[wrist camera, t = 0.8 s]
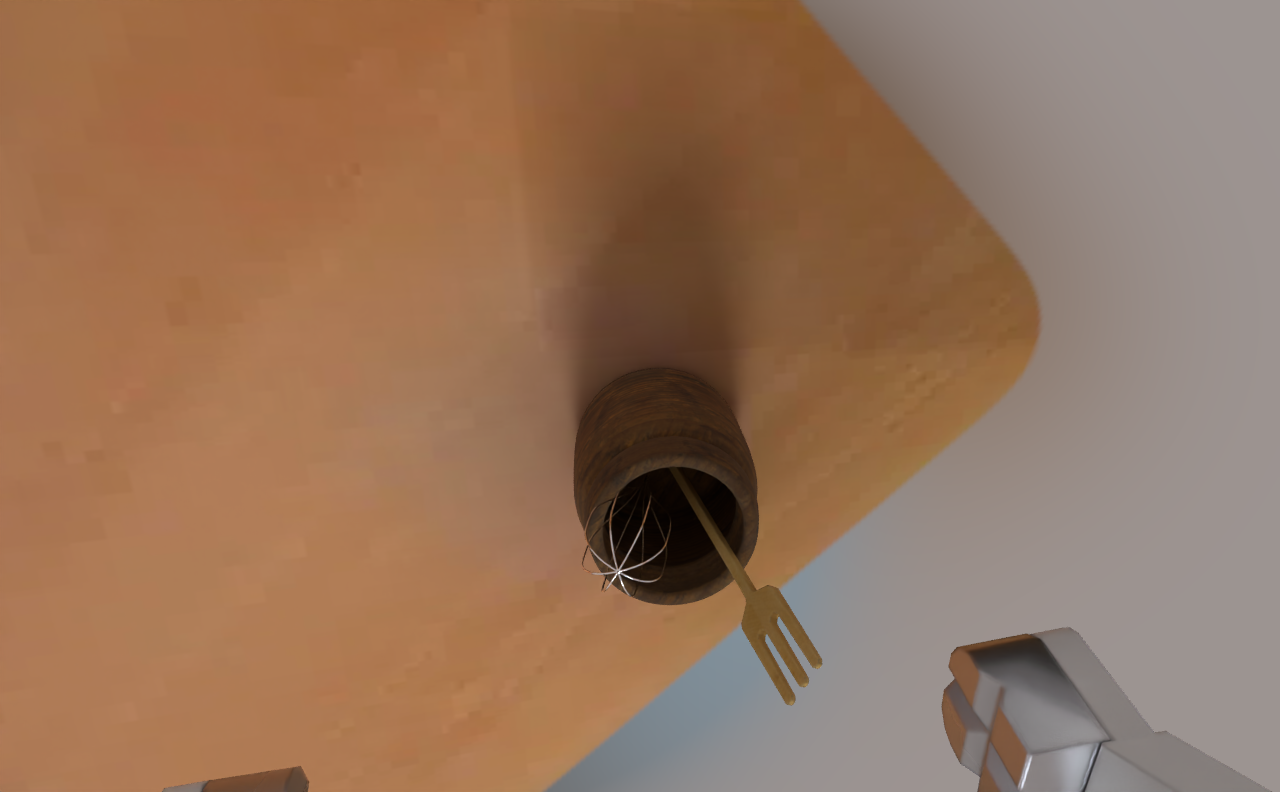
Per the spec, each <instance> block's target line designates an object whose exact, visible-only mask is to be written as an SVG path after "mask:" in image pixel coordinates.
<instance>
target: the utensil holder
mask: <svg viewBox="0 0 1280 792" xmlns="http://www.w3.org/2000/svg"><path fill="white" fill-rule="evenodd" d="M574 497H575V504H576V509H577V513H578V517H579V520H580V522H581V524H582V527H583V529H584V531H585V540H586V542H587V546H586V549H585V551H584V555H583V558H582V562H581V566H582V568H583V570H585V571H586V572H588V573H591V574H596V575H604V576H605V578H604V582H603V585H602V589H601V591H602V592H605V591H606V590H607V589H608V587H609V586H610V585H611V583H612V584H613V585H614V586H615V587H616V588H618V589H619V590H621V591H622V592H624V593H625V594H627V595H629V596H630V597H633V598H636V599H638V600H641V601H644V602H648V603H653V604H660V605H680V604H687V603H691V602H695V601H699V600H702V599H704V598H707V597H709V596H711V595H713V594H715V593H717V592H719V591H720V590H722V589H723V588H725V587H726V586H727V585H729V584H730V583H731V582H732V581H733V580H734V579H735V581H736V583H737V584H738V586H739V588H740V589H741V591H742V593H743V595H744V596H745V598H746V607H745V611H744V615H743V619H742V623H741V624H742V629H743V631H744V633H745V635H746V636H747V638H748V640H749V642H750V643H751V645H752V647H753V648H754V650H755V652H756V654H757V655H758V657H759V659H760V660H761V662H762V664H763V666H764V667H765V669H766V671H767V672H768V674H769V676H770V677H771V679H772V681H773V682H774V684H775V686H776V688H777V689H778V691H779V693H780V694H781V696H782V698H783V699H784V701H785V703H786V704H787V705H793V704H794V702H795V695H794V693H793V691H792V689H791V688H790V686H789V684H788V682H787V680H786V678H785V677H784V675H783V673H782V671H781V669H780V668H779V666H778V664H777V662H776V660H775V658H774V657H773V655H772V653H771V651H770V649H769V648H768V646H767V644H766V642H765V636H766V634H768V636H769V638H770V639H771V641H772V643H773V644H774V646H775V647H776V649H777V651H778V652H779V654H780V655H781V657H782V659H783V660H784V662H785V664H786V665H787V667H788V668H789V670H790V672H791V673H792V675H793V677H794V678H795V680H796V681H797V683H798V684H799V686H800V687H806V686H807V685H808V683H809V678H808V676H807V674H806V673H805V671H804V669H803V668H802V666H801V664H800V662H799V661H798V659H797V657H796V656H795V654H794V652H793V651H792V649H791V647H790V646H789V644H788V642H787V640H786V638H785V637H784V635H783V633H782V632H781V630H780V628H779V626H778V625H777V619H778V617H780V618H781V620H782V621H783V623H784V624H785V626H786V627H787V629H788V630H789V632H790V633H791V635H792V636H793V638H794V640H795V641H796V643H797V644H798V646H799V647H800V649H801V650H802V652H803V653H804V655H805V656H806V658H807V660H808V661H809V663H810V664H811V666H812V667H813V668H816V669H818V668H820V667H821V665H822V659H821V657H820V656H819V654H818V652H817V650H816V649H815V647H814V646H813V644H812V642H811V641H810V639H809V638H808V636H807V634H806V633H805V631H804V629H803V628H802V626H801V625H800V623H799V621H798V620H797V618H796V617H795V615H794V613H793V612H792V610H791V609H790V607H789V605H788V604H787V602H786V600H785V599H784V597H783V596H782V594H781V592H780V591H779V589H778V588H775V587H773V586H769V585H767V586H765V587H763V588H761V589H759V590H756V588H755V587H754V585H753V583H752V582H751V580H750V579H749V577H748V575H747V574H746V572H745V570H744V568H745V566H746V565H747V563H748V562H749V560H750V558H751V556H752V554H753V551H754V548H755V545H756V542H757V537H758V526H759V513H758V503H757V477H756V471H755V467H754V463H753V459H752V456H751V453H750V451H749V448H748V445H747V443H746V441H745V438H744V436H743V434H742V431H741V429H740V427H739V424H738V422H737V420H736V418H735V416H734V414H733V413H732V411H731V409H730V408H729V406H728V405H727V403H726V402H725V401H724V399H723V398H722V397H721V396H720V395H719V394H718V393H717V392H716V391H715V390H714V389H713V388H712V387H711V386H709V385H708V384H707V383H705V382H704V381H702V380H700V379H699V378H697V377H695V376H692V375H690V374H688V373H684V372H681V371H677V370H672V369H647V370H641V371H637V372H634V373H630V374H628V375H625V376H623V377H621V378H619V379H617V380H616V381H614V382H612V383H611V384H609V385H608V386H607V387H606V388H604V389H603V390H602V391H601V392H600V393H599V394H598V395H597V396H596V397H595V398H594V400H593V401H592V402H591V404H590V405H589V407H588V408H587V410H586V412H585V414H584V416H583V418H582V420H581V423H580V426H579V429H578V433H577V437H576V444H575V455H574ZM588 546H589V549H590V552H591V554H592V556H593V559H594V561H595V563H596V565H597V566H598V568H599V570H600V571H601V572H602V573H595V572H590V571H588V570H586V569H585V568H584V566H583V560H584V557H585V554H586V551H587V548H588ZM606 578H607V580H608V581H609V582H610V583H609V584H608V586H607V587H606V588H605V589H604V590H603V588H604V584H605V581H606Z"/></svg>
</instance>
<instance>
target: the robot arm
mask: <svg viewBox="0 0 1280 792" xmlns="http://www.w3.org/2000/svg"><path fill="white" fill-rule="evenodd" d="M949 669H950V670H951V672H952V674H953V676H954V677H955V679H954V680H953V681H952V682H951V683H950V684H949V685H948V686H947V687H946V688H945V689H944V694H943V701H942V713H943V719H944V725H945V730H946V733H947V736H948V739H949V741H950V744H951V746H952V748H953V750H954V752H955V754H956V756H957V758H958V760H959V762H960V764H962V765H963V766H965V767H966V768H968V769H969V770H971V771H972V772H973V773H975V774H976V775H978V776H979V777H980V780H979V786H978V791H977V792H1272V791H1270V790H1268V789H1266V788H1265V787H1263V786H1261V785H1260V784H1258V783H1256V782H1254V781H1253V780H1251V779H1249V778H1247V777H1246V776H1244V775H1242V774H1240V773H1238V772H1237V771H1235V770H1233V769H1232V768H1230V767H1228V766H1226V765H1224V764H1223V763H1221V762H1219V761H1217V760H1216V759H1214V758H1212V757H1210V756H1209V755H1207V754H1205V753H1204V752H1202V751H1200V750H1198V749H1197V748H1195V747H1193V746H1191V745H1190V744H1188V743H1186V742H1184V741H1182V740H1181V739H1179V738H1177V737H1176V736H1174V735H1172V734H1170V733H1169V732H1167V731H1162V732H1155V733H1154V731H1153V730H1152V729H1151V727H1150V726H1149V725H1148V723H1147V722H1146V721H1145V719H1144V718H1143V717H1142V715H1141V714H1140V713H1139V712H1138V710H1137V709H1136V708H1135V706H1134V705H1133V704H1132V703H1131V701H1130V700H1129V699H1128V697H1127V696H1126V695H1125V693H1124V692H1123V691H1122V689H1121V688H1120V687H1119V685H1118V684H1117V683H1116V682H1115V680H1114V679H1113V678H1112V676H1111V675H1110V674H1109V672H1108V671H1107V670H1106V668H1105V667H1104V666H1103V664H1102V663H1101V662H1100V660H1099V659H1098V658H1097V657H1096V655H1095V654H1094V653H1093V652H1092V650H1091V649H1090V647H1089V646H1088V645H1087V644H1086V642H1085V641H1084V640H1083V638H1082V637H1081V636H1080V635H1079V633H1077V632H1076V631H1074V630H1073V629H1071V628H1059V629H1055V630H1050V631H1044V632H1039V633H1034V634H1030V635H1029V634H1022V635H1017V636H1012V637H1006V638H1001V639H996V640H991V641H986V642H981V643H976V644H971V645H966V646H961V647H957V648H956V649H955V650H954V651H953V652H952V653H951V657H950V662H949ZM308 787H309V781H308V779H307V777H306V775H305V773H304V771H303V769H302V768H301V766H298V767H292V768H285V769H279V770H273V771H266V772H260V773H254V774H248V775H241V776H235V777H229V778H222V779H216V780H208V781H202V782H197V783H191V784H185V785H180V786H174V787H168V788H164V789H163V791H162V792H308Z"/></svg>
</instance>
